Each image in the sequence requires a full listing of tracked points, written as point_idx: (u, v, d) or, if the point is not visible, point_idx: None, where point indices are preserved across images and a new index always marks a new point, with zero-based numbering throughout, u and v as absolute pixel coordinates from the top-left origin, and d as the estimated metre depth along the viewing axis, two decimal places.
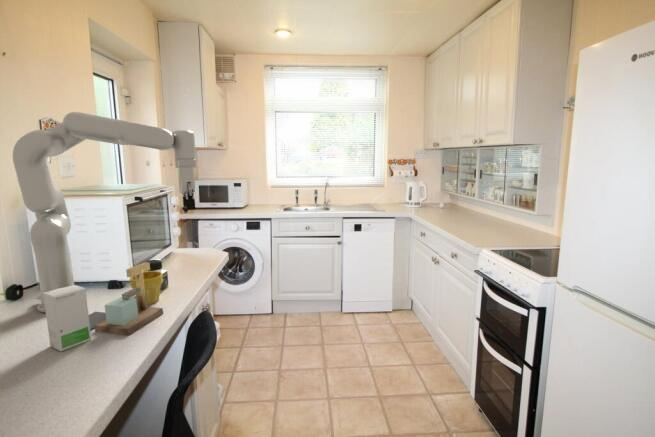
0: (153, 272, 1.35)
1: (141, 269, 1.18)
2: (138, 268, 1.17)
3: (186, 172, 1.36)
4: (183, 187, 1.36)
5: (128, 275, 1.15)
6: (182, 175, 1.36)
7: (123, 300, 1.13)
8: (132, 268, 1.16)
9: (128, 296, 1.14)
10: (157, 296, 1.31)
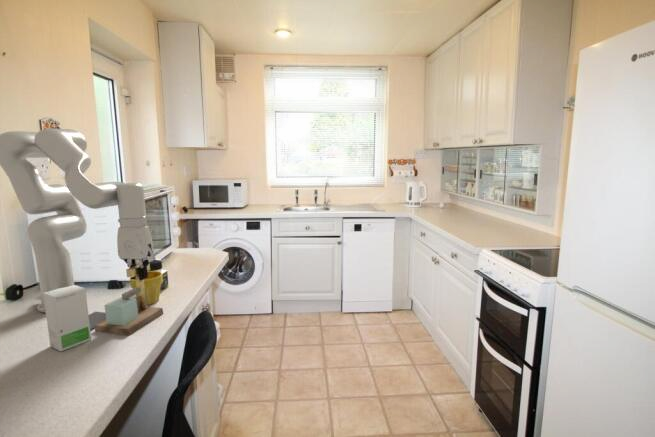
0: (153, 272, 1.35)
1: None
2: None
3: (146, 233, 1.15)
4: (145, 251, 1.14)
5: (128, 275, 1.15)
6: (143, 237, 1.14)
7: (123, 300, 1.13)
8: (132, 268, 1.16)
9: (128, 296, 1.14)
10: (157, 296, 1.31)
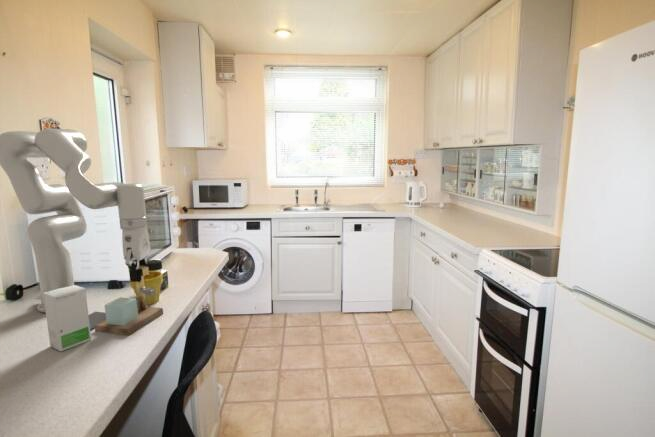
0: (153, 272, 1.35)
1: None
2: None
3: None
4: None
5: (144, 273, 1.16)
6: None
7: (123, 300, 1.13)
8: (143, 267, 1.17)
9: None
10: (157, 296, 1.31)
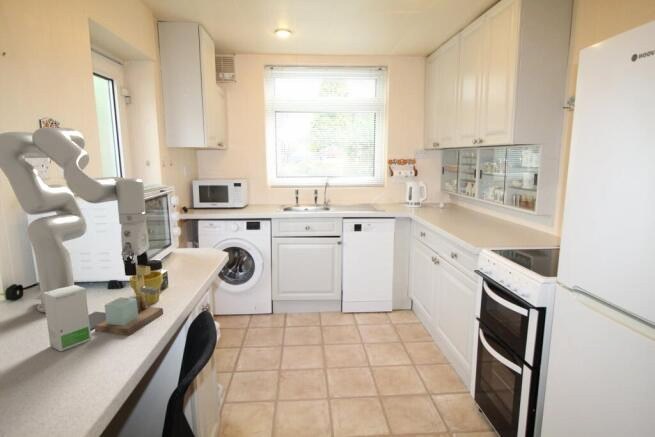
0: (153, 272, 1.35)
1: None
2: None
3: None
4: None
5: (147, 273, 1.17)
6: None
7: (123, 300, 1.13)
8: (144, 266, 1.18)
9: None
10: (157, 296, 1.31)
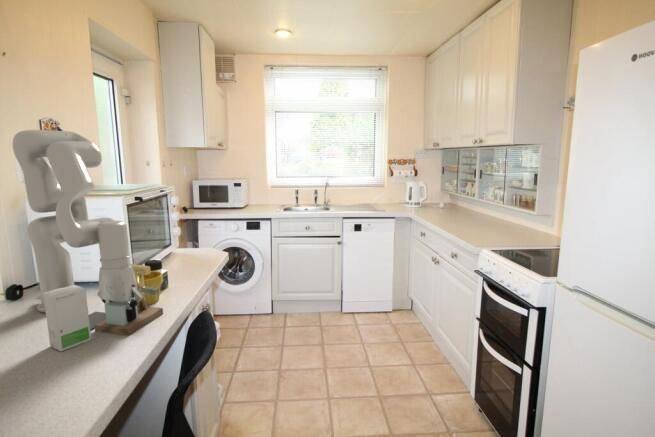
0: (153, 272, 1.35)
1: None
2: None
3: (129, 274, 1.09)
4: (128, 293, 1.08)
5: (147, 273, 1.17)
6: (125, 279, 1.07)
7: None
8: (144, 266, 1.18)
9: None
10: (157, 296, 1.31)
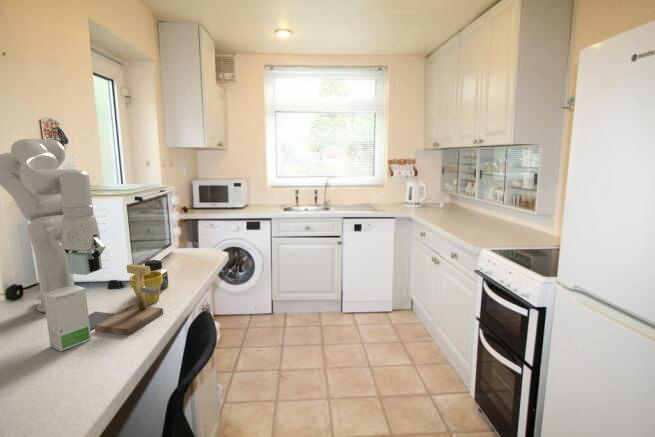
0: (153, 272, 1.35)
1: None
2: None
3: (91, 223, 1.09)
4: (90, 242, 1.09)
5: (147, 273, 1.17)
6: (87, 227, 1.08)
7: (86, 251, 1.14)
8: (144, 266, 1.18)
9: None
10: (157, 296, 1.31)
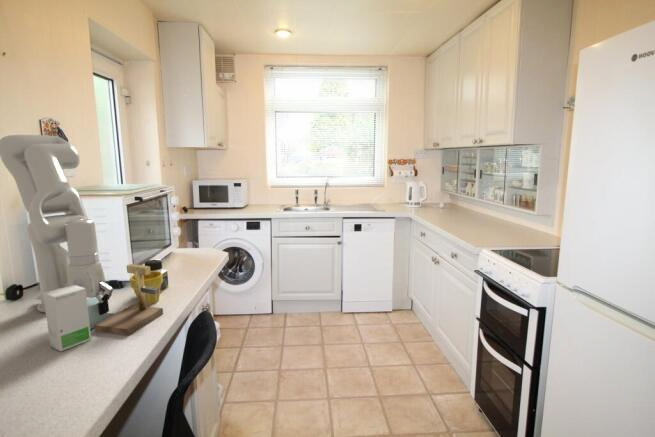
0: (153, 272, 1.35)
1: None
2: None
3: (97, 270, 1.12)
4: (96, 289, 1.11)
5: (147, 273, 1.17)
6: (93, 275, 1.11)
7: (92, 300, 1.16)
8: (144, 266, 1.18)
9: None
10: (157, 296, 1.31)
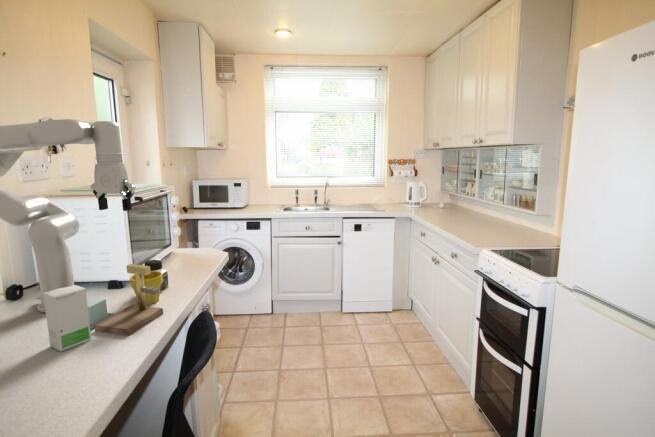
0: (153, 272, 1.35)
1: None
2: None
3: (121, 168, 1.22)
4: (120, 185, 1.22)
5: (147, 273, 1.17)
6: (118, 172, 1.21)
7: (92, 300, 1.16)
8: (144, 266, 1.18)
9: None
10: (157, 296, 1.31)
